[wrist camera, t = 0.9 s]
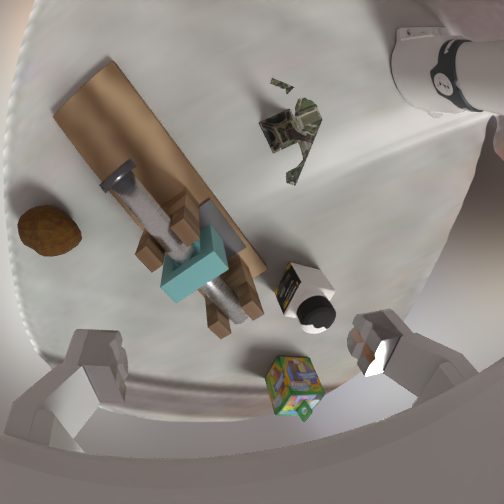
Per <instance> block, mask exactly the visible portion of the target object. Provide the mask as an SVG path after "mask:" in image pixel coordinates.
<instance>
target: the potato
mask: <svg viewBox="0 0 504 504" xmlns="http://www.w3.org/2000/svg"><path fill="white" fill-rule="evenodd" d="M17 225H18V232H19V236H20V239H21V241H22V242H23V244H24V245H26V246H28V247H30V248H32V249H34V250H35V251H36V252H37V253H38V254H40V255H42V256H57V255H62V254H65V253H67V252H69V251H70V250H72V249H73V248H74V247H76V246H77V245H78V244H79V242H80V241H81V239H82V236H81V231H80V229H79V228H78V226H77V224H76V223H75V222H74V221H73V220H72V219H71V218H70V217H69V216H68V215H66V214H65V213H64V212H63V211H61V210H59V209H58V208H55V207H52V206H39V207H35V208H32V209H30V210H28V211H27V212H25V213H24V214H23V215H22V216H21V217H20V219H19V221H18V224H17Z"/></svg>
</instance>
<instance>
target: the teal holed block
mask: <svg viewBox="0 0 504 504" xmlns="http://www.w3.org/2000/svg"><path fill="white" fill-rule="evenodd" d="M192 245H193V246H194V247H195V249H196V250H197V251H198V252H199V254H197V255H196V256H194V257H193V258H191V259H190V260H188V261H187V262H185V263H184V264H183V265H181V266H180V267H179V265H178V264H177V263H176V262H175V261H174V260H173V259H172V258H171V257H170V256H169V254H166V255H165V259H164V265H163V272H162V278H161V285H160V288H161V289H162V290H163V291H164V292H165V293H166V294H167V295H168V296H169V297H170V298H171V299H172V300H173V301H174V302H175V303H177V302H179V301H180V300H182V299H184V298H185V297H187V296H188V295H190V294H191V293H193V292H194V291H196V290H197V289H199V288H201V287H202V286H204V285H205V284H207V283H208V282H210V281H211V280H213V279H214V278H216V277H218V276H219V275H221V274H222V273H224V272H225V271H227V270H228V269H229V267H228V263H227V258H226V253H225V249H224V244H223V239H222V238H221V237H220V236H219V234H218V233H217V232H216V231H215V229H214V228H213V227H212V225H211V224H209V225H207V226H206V227H204V228H203V229H202V230H200V239H199V240H197V241H196V242H194V243H193V244H192Z"/></svg>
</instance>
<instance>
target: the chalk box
mask: <svg viewBox="0 0 504 504" xmlns="http://www.w3.org/2000/svg"><path fill="white" fill-rule="evenodd" d="M265 381H266V384H267V388H268V391H269V395H270V399H271V402H272V406H273V409H274V413H275V415H299V416H300V418H301V419H302V421H303V422H305V421H306V420H307V419H308V417H309V416H310V415H311V414H312V410H313V408H314V407H315V406H316V405H317V404H318V403H319V401H320V400H321V399H322V398H323V397H324V395H325V392H324V389H323V387H322V385H321V383H320V380H319V378H318V376H317V374H316V371H315V369H314V367H313V365H312V362H311V360H310V358H300V357H280V356H278V357H277V358H276V360H275V362H274V363H273V365H272V367H271V369H270V371H269V372H268V374H267V376H266V377H265ZM303 414H305V415H303Z"/></svg>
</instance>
